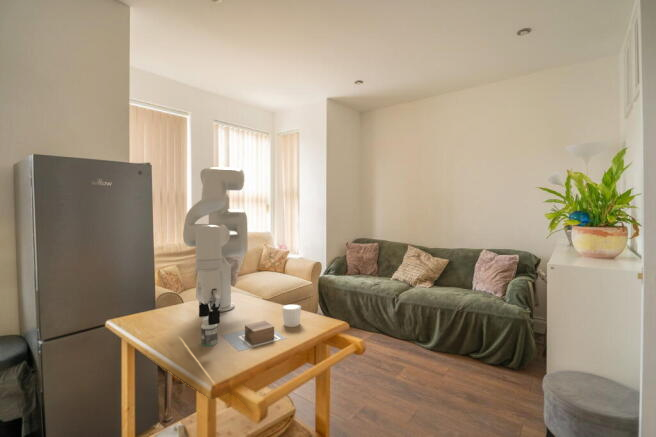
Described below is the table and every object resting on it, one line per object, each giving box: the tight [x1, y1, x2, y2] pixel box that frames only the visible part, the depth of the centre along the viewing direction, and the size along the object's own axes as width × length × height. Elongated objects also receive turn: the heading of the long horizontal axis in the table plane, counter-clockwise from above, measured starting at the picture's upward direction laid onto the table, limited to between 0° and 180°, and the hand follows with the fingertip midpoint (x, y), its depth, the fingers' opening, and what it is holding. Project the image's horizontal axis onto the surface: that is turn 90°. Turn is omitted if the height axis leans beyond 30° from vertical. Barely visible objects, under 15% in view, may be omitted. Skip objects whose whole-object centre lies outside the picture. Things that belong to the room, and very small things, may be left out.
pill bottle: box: [200, 316, 219, 347], centre depth 99 cm, size 5×5×8 cm
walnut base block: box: [244, 320, 275, 344], centre depth 103 cm, size 7×7×4 cm
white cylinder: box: [281, 303, 302, 328], centre depth 116 cm, size 7×7×7 cm
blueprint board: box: [221, 329, 287, 352], centre depth 104 cm, size 15×16×1 cm
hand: (209, 320), depth 98 cm, fingers open, 9 cm apart
